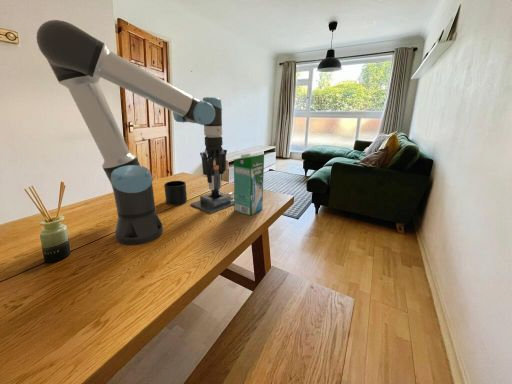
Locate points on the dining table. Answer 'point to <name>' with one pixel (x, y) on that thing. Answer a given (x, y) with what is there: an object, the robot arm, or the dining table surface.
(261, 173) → the milk carton
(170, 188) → the mug
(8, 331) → the dining table surface
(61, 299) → the dining table surface
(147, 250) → the dining table surface
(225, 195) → the grey peg hole base
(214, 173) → the copper tipped cylinder
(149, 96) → the robot arm
